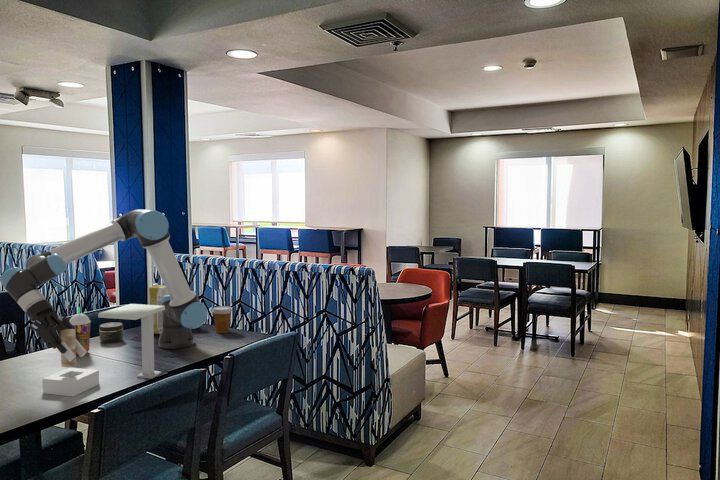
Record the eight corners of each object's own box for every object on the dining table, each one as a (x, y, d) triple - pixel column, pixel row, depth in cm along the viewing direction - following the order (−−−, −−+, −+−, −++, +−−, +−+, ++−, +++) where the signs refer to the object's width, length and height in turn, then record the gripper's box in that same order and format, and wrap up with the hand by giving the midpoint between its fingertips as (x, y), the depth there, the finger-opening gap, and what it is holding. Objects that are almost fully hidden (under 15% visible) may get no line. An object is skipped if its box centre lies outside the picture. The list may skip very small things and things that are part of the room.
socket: (70, 381, 185) (69, 367, 185) (99, 384, 183) (98, 370, 182) (42, 393, 173) (42, 378, 173) (73, 396, 171) (73, 381, 170)
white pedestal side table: (99, 380, 186) (98, 313, 185) (131, 364, 204) (130, 303, 202) (141, 384, 183) (140, 316, 181) (170, 368, 200) (169, 306, 199)
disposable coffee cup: (214, 335, 251) (214, 310, 250) (210, 330, 259) (210, 306, 258) (234, 332, 255) (234, 309, 254) (229, 328, 264) (229, 305, 263)
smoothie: (81, 357, 212) (80, 309, 211) (64, 356, 214) (62, 308, 212) (95, 352, 220) (94, 305, 219) (78, 350, 222) (77, 304, 221)
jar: (116, 344, 233) (116, 327, 233) (95, 343, 233) (94, 327, 233) (127, 338, 243) (127, 322, 242) (106, 337, 243) (105, 321, 243)
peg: (75, 362, 180) (74, 328, 179) (76, 365, 176) (75, 331, 175) (61, 364, 178) (60, 330, 177) (61, 367, 174) (60, 332, 173)
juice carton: (156, 329, 260) (155, 282, 258) (171, 330, 259) (170, 282, 257) (146, 333, 251) (145, 285, 249) (161, 334, 250) (160, 285, 248)
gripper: (49, 308, 187) (90, 356, 185) (7, 318, 170) (51, 371, 168) (61, 294, 186) (102, 343, 184) (20, 303, 169) (65, 357, 167)
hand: (78, 356), depth 176 cm, fingers closed on peg, 4 cm apart
